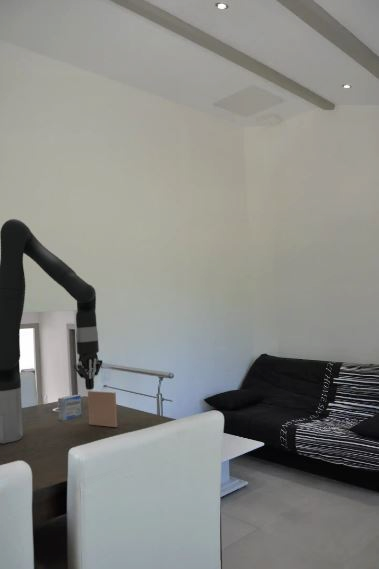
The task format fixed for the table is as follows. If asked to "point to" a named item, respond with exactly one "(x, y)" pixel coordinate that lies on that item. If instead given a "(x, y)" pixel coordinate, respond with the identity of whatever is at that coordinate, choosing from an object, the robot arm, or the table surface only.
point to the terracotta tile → (102, 408)
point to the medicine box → (69, 407)
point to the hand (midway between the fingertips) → (90, 389)
